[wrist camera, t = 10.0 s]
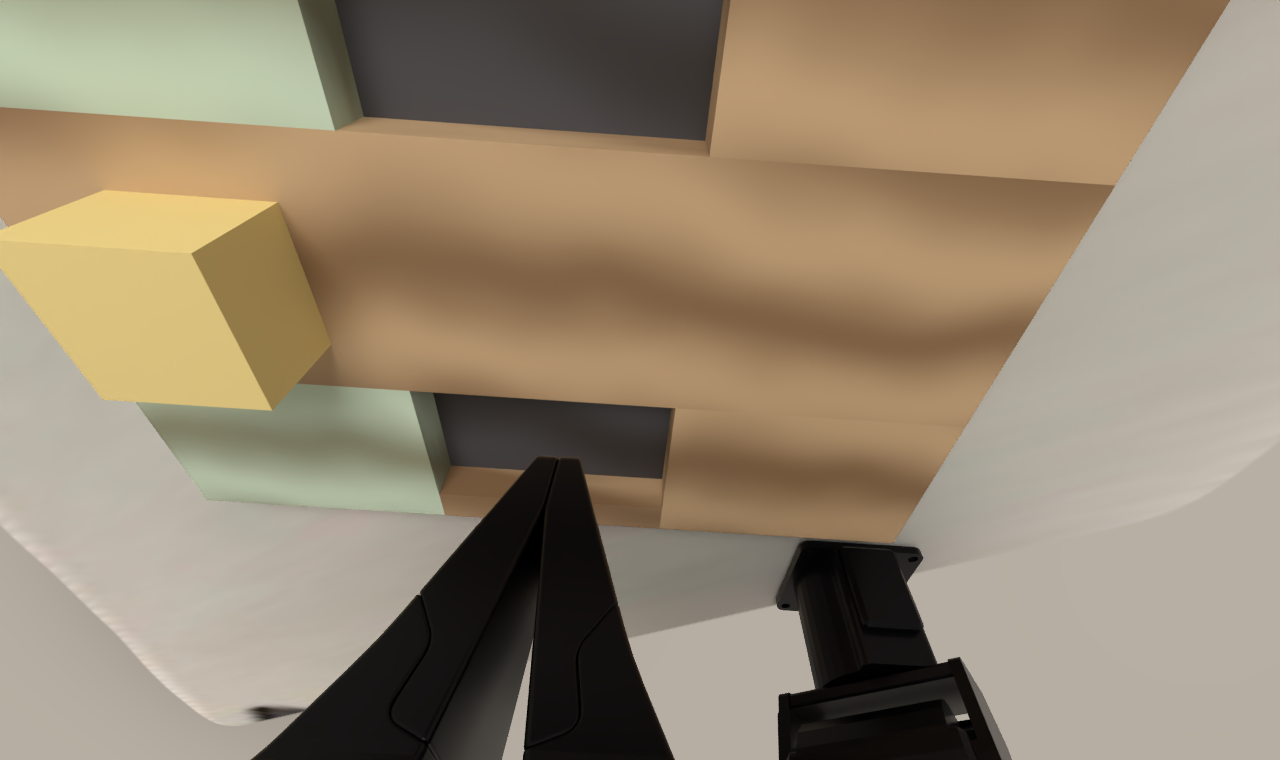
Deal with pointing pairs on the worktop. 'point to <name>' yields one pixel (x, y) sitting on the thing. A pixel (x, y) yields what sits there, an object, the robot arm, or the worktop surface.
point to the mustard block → (171, 296)
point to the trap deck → (612, 227)
